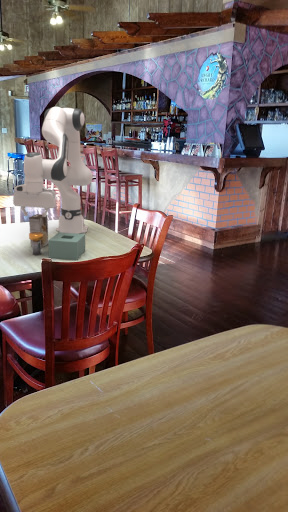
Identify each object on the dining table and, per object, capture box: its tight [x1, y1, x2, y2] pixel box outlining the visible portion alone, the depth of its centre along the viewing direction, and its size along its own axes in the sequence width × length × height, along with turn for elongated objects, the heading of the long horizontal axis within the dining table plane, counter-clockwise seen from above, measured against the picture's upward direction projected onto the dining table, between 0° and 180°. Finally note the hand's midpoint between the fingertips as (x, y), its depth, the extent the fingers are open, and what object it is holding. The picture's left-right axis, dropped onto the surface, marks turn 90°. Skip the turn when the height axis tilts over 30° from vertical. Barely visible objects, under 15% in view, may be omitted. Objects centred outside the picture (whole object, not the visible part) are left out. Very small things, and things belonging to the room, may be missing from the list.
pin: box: [28, 232, 43, 256], centre depth 207 cm, size 7×7×10 cm
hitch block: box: [48, 231, 86, 261], centre depth 209 cm, size 16×14×9 cm
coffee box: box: [28, 213, 49, 249], centre depth 221 cm, size 9×6×16 cm
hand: (35, 216), depth 203 cm, fingers open, 8 cm apart
